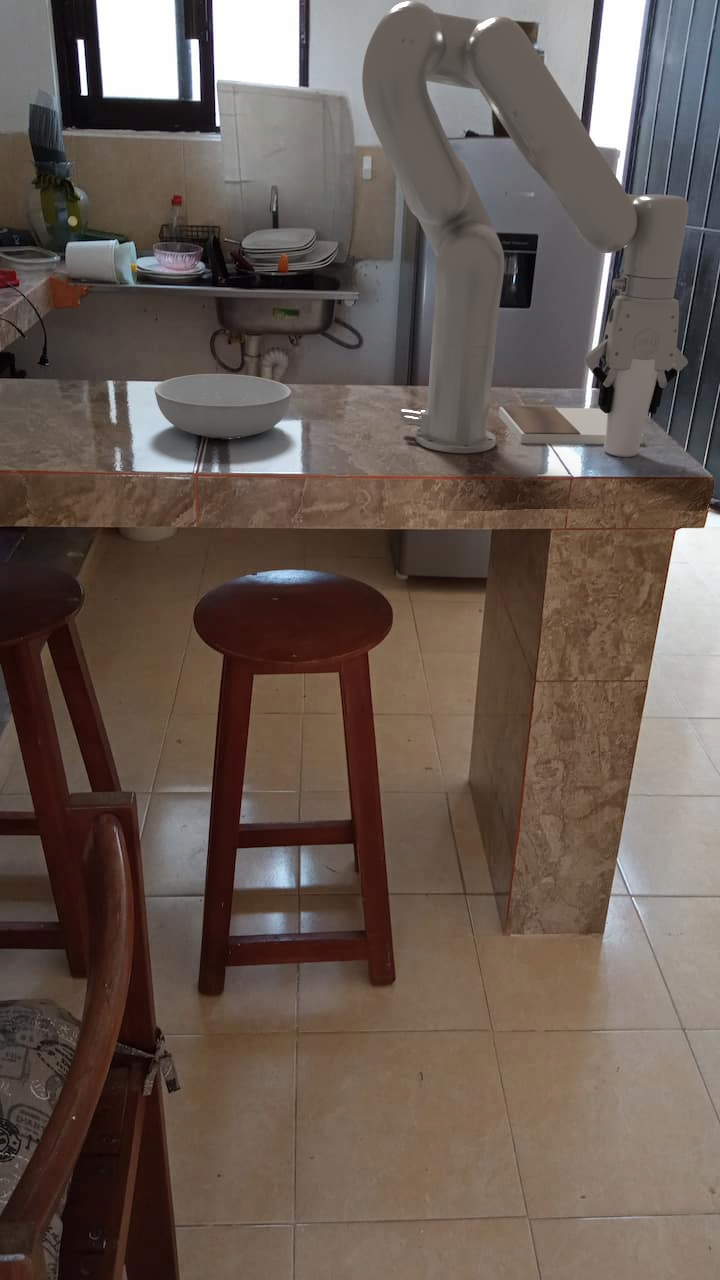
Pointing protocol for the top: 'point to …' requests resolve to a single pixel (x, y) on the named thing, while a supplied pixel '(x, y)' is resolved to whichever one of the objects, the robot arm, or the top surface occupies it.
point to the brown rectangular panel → (540, 420)
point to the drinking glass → (630, 408)
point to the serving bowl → (223, 404)
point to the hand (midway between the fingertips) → (627, 410)
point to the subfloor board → (582, 419)
